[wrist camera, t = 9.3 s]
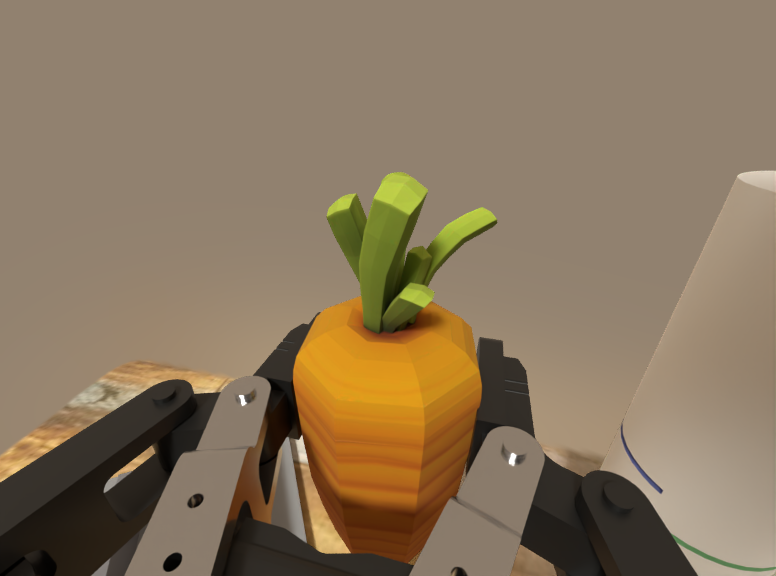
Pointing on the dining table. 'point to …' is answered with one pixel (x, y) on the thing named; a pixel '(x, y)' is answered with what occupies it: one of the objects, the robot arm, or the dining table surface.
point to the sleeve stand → (282, 515)
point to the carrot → (389, 378)
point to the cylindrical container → (715, 398)
